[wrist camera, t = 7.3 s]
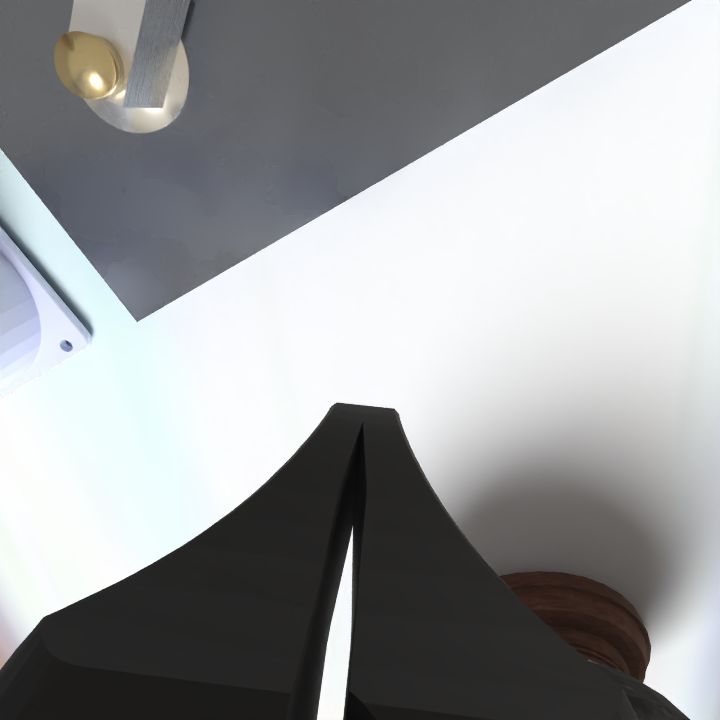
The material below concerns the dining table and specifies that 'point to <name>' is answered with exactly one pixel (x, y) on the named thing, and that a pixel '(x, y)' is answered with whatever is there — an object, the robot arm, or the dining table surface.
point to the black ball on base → (597, 632)
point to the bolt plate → (271, 117)
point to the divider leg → (121, 50)
